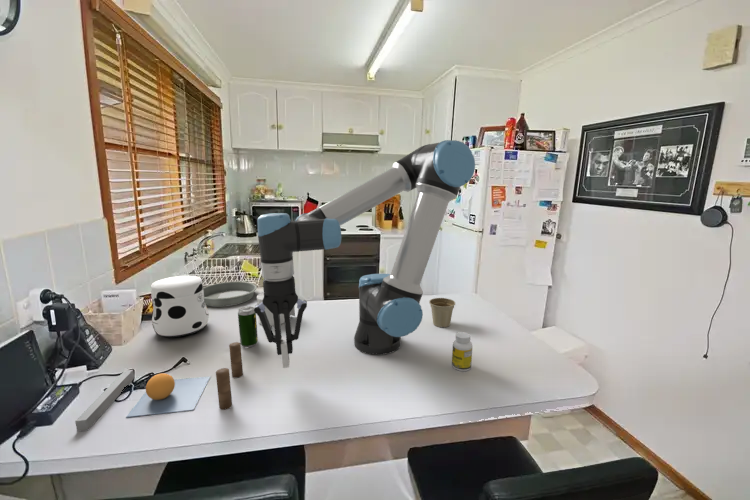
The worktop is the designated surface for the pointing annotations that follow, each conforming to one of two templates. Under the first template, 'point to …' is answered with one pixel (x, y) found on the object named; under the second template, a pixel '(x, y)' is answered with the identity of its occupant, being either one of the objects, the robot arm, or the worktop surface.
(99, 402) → the wall
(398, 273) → the robot arm
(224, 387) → the post
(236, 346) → the post
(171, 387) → the ball
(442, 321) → the flower pot
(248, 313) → the beer can
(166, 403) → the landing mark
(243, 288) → the cake pan
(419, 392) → the worktop surface
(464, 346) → the supplement bottle
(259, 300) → the toilet tissue
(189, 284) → the milk container
